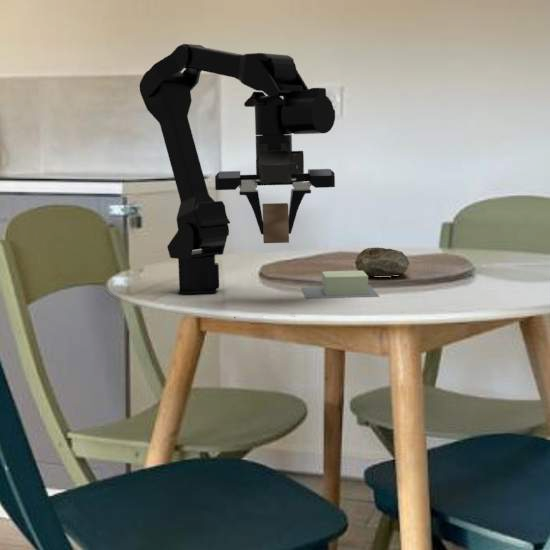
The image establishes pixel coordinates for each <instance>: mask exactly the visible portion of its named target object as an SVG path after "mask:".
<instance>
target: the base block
mask: <svg viewBox="0 0 550 550" xmlns="http://www.w3.org/2000/svg"><path fill="white" fill-rule="evenodd" d="M321 283H322V285H321V287H322V289H323V291H324V293H325V295H361V294H368V285H369V276H367V274H366V273H365V272H364V271H359V270H341V271H340V270H337V271H336V270H335V271H330V270H329V271H321Z"/></svg>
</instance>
